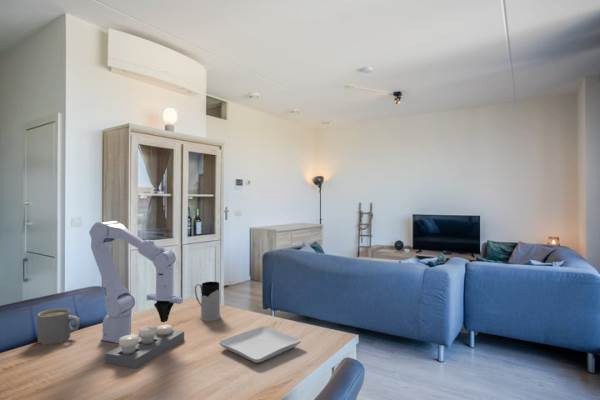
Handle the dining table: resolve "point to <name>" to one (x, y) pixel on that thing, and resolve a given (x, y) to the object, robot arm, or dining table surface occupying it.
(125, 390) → the dining table surface
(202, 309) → the grey black pitcher
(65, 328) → the coffee mug
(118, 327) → the robot arm
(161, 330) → the knob
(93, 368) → the dining table surface
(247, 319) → the dining table surface
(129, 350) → the knob
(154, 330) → the knob
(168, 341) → the mount
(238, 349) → the salad plate
